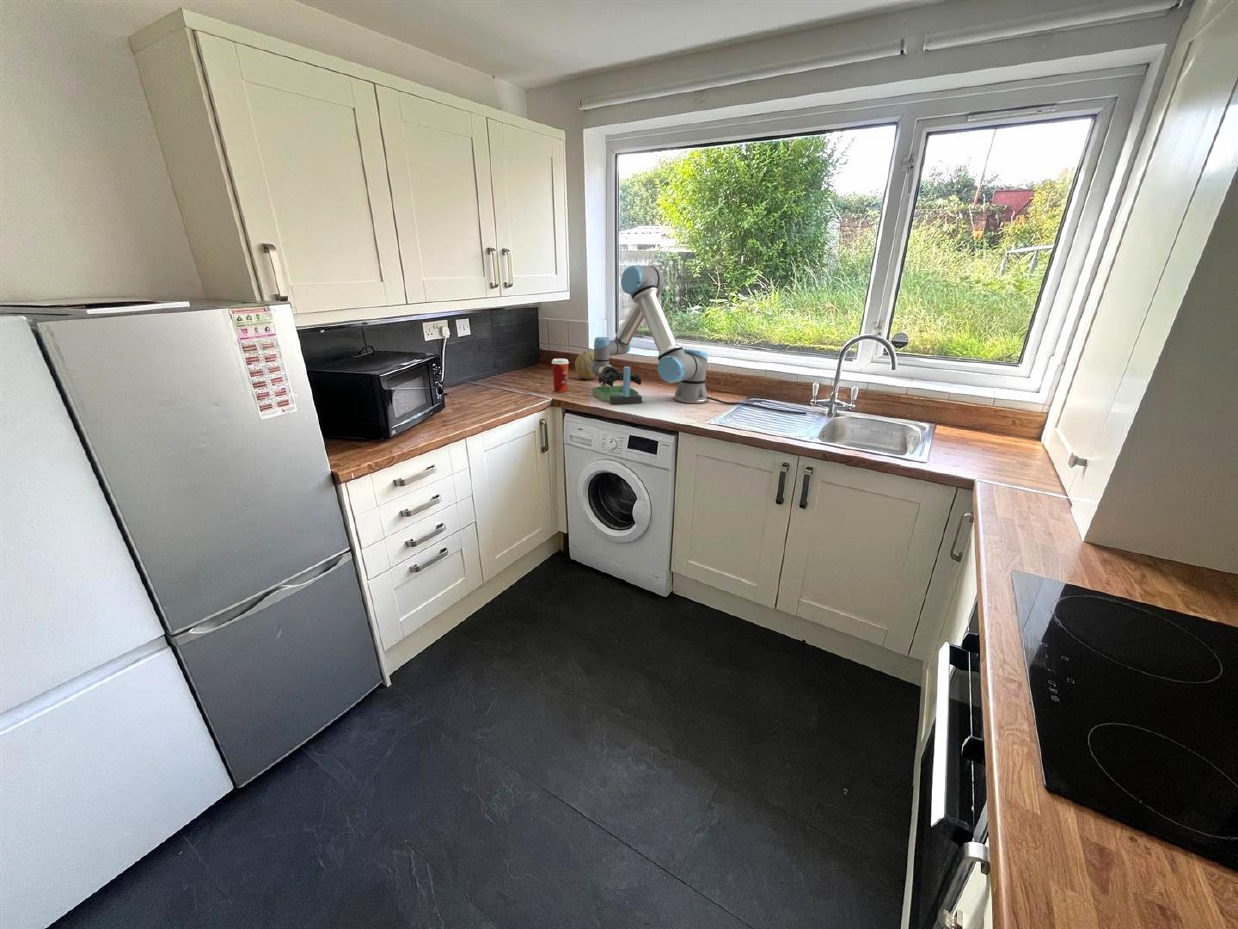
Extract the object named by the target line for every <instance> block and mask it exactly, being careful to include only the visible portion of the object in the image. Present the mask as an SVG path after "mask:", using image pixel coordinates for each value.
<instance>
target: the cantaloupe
mask: <svg viewBox="0 0 1238 929" xmlns="http://www.w3.org/2000/svg"><path fill="white" fill-rule="evenodd" d="M593 362H594V351H583V352H581V353H580V354H579V355H578V356H577V357H576V359H575V361H574V369H575V372H576V374H577V375H578V376H579V377H580V378H582V379H584V380H594V379H596V378H598V376H596V375H595V374H593V372H592V370H591V366H592V364H593Z"/></svg>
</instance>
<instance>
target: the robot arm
mask: <svg viewBox="0 0 1238 929" xmlns="http://www.w3.org/2000/svg"><path fill="white" fill-rule="evenodd" d="M664 285H665V278H664V274H663V272H662V271H661V269H660V268H658V267H656V266H655V265H639V264H635V265H629V266H627V267H625V269H624V270H623V272H622V274H621V277H620V286H621V289H622V291H623V292H624V293H625V294H627V295H630V297H631V300H632V302H633V305H632V306H631V309H630V310H629V312H628V314H627V316H626V317H625V319H624V321H623V323H622V325H621V327H620V329H619V331H618V332H617V334H616V336H615V337H614V339H610V338H609V337H608V336H596V337H595V338H594V340H593V353H594V362H593V364H592V366H591V370H592V372H593V374H595V375H596V376H597V378H598V383H599V384H602V383H603V385H607V386H611V387H612V386H614V382H617V381H620V382H621V381H622V382H623V375H624V372H620V371H618V369H617V368H616V367H614V366H612V365H611V364H610V357H613V356H622V355H625V354H628V353H629V352H630V351H631V341H632V339H633V338H634V336H635V335H636V333H637V331H638V329H639V328H640V326H641V324H642V322H643V321H645V323H646V325H647V328H648V331H649V332H650V335H651V337H652V340H653V342H654V344H655V346H656V348H657V351H658V355H657V360H658V362H657V367H656V368H657V369H656V370H657V373H658V375H659V377H660V378H661V380H663V381H664V382H665V383H666V382H667V383H671V384H673V383H675V384H676V383H678V385H677V388H676V390H675V393H674V400H675V401H676V402H679V403H684V404H693V405H694V404H705V403H707V402H708V400H709V401H714V402H718V403H720V404H723V405H724V404H725V405H741V406H742V405H743V406H747V407H748V406H749V407H753V408H757V409H758V408H759V409H763V410H769V411H773V412H774V411H775V412H780V413H785V414H794V415H807V412H806V411H794V410H786V409H779V408H774V407H769V406H765V405H758V404H753V403H750V402H749V403H748V402H740V401H736V402H735V401H724V400H720V399H718V398H714V397H710V396H708V392H707V387H706V377H707V376H706V375H707V367H708V361H709V359H708V353H707V351H705V350H698V349H691V348H683V346H682V345H679V344H678V343H677V340H676V338H675V336H674V334H673V331H672V329H671V326H670V324H669V322H668V320H667V317H666V315H665V313H664V310H663V308H662V306H661V303H660V301H659V297H660V295H661V294H662V292H663V288H664ZM630 382H633V383H634V384H636V385H639V386H641V385H642V378H641V376H640V374H637V373H635V374H634V373H630Z"/></svg>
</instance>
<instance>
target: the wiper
mask: <svg viewBox="0 0 1238 929" xmlns="http://www.w3.org/2000/svg"><path fill="white" fill-rule="evenodd" d="M631 370H632V367H631V366H623V373H624V375H623V380H622V385H623V395H620V396H610V401H609V403H610V404H611V405H612V406H615V405H628V404H629V405H631V404H642V403H643V396H642V395H640V394H639V393H638V394H635V395H629V394H630V388H631V381H630V374H631Z"/></svg>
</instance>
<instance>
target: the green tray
mask: <svg viewBox="0 0 1238 929" xmlns="http://www.w3.org/2000/svg"><path fill="white" fill-rule="evenodd" d="M621 394H623V384H622V385H613V386H612V387H611V386H610V385H608V384H605V385H603V382H601V383H600V386H592V395H594V396H595V397H596V398H598V399H600V401H603V402H610V396H620V395H621ZM635 394H639V391H638V390H635V389H634V388H633V387H630V394H629V395H635Z"/></svg>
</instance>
